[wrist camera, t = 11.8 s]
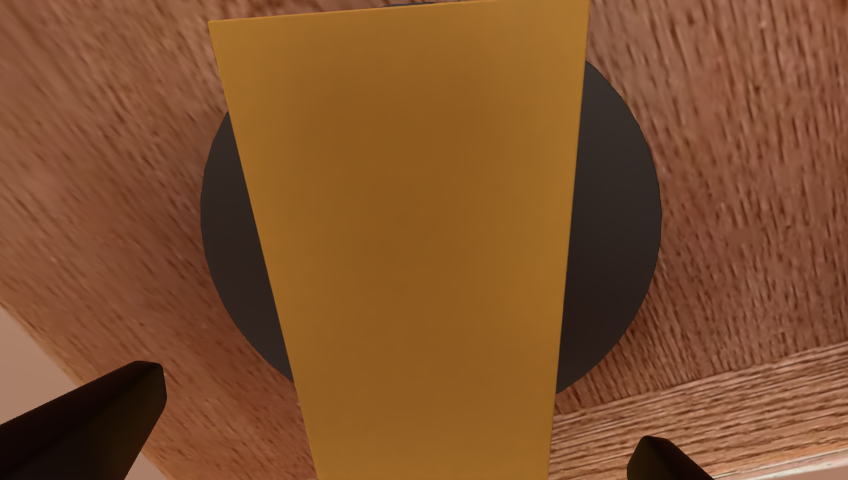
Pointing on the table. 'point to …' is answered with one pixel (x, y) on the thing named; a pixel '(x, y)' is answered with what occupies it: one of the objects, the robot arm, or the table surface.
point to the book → (415, 223)
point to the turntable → (587, 255)
